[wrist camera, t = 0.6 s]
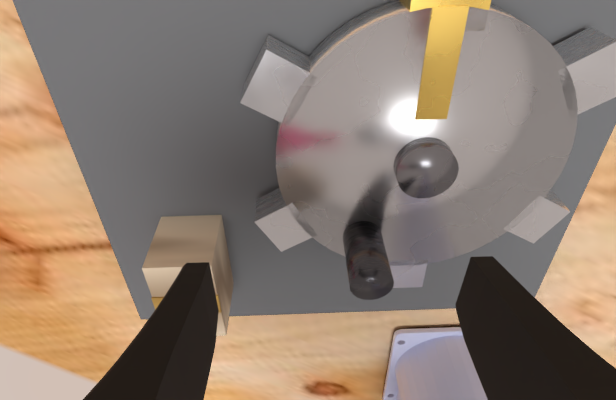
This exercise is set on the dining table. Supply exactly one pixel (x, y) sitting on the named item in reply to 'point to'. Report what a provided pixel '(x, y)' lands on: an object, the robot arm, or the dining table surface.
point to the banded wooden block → (190, 258)
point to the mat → (246, 137)
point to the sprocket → (422, 134)
